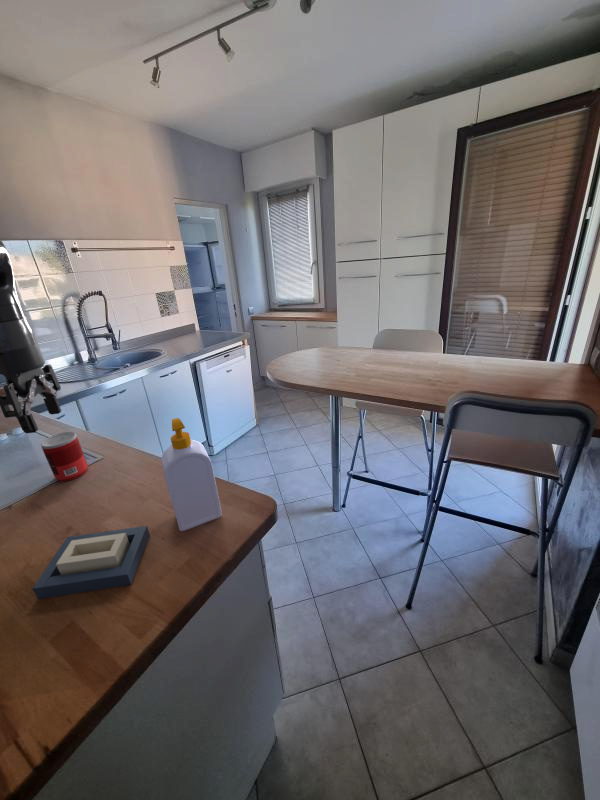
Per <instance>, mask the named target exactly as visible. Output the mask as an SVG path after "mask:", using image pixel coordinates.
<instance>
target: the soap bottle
mask: <svg viewBox="0 0 600 800" xmlns="http://www.w3.org/2000/svg"><path fill="white" fill-rule="evenodd" d="M183 429H186V427H185V425H184V423H183V421H182V420H181V418H179V417H176V418H172V419H171V430H172V432H175V433H174V434H172V436H171V437H170V442H171V444H170V445H169V446H168V447H166V448H165V450H163V451H164V452H163V453H162V455H161V466H162V471H163V475H164V480H165V484H166V487H167V490H168V493H169V497H170V501H171V504H172V508H173V512H174V516H175V519H176V524H177V527H178V530H179V531H180V532H184V531H187V530H190V529H193V528H195V527H198V526H200V525H201V526H202V525H203V524H205V523H208V522H212V521H214V520H217V519H219V518H221V517H222V515H223V511H222V507H221V502H220V498H219V492H218V487H217V482H216V478H215V473H214V467H213V463H212V460H211V458H210V456H209V454H208V452H207V450H206V447H205V446H204V445H203V443H201V442H200V441H198V440H195V439H191V435H190V433H189V432H187V431H183Z"/></svg>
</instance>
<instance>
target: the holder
mask: <svg viewBox="0 0 600 800" xmlns="http://www.w3.org/2000/svg"><path fill="white" fill-rule="evenodd" d="M121 533H126V535H127V538H128V541H129V544H130V547H129V549H128V552H127V554H126V556H125V559H124V561H123V563H122V565H121V566H120V567H114V568H107V569H100V570H94V571H87V572H80V573H74V574H67V575H61V574H60V572H59V570H58V568H57V566H56V564H57V562H58V560H59V559H60V558H61V556H62V554H63V553H64V551H65V550H66V548H67V547H68V545H69V544H70V542H71V541H72V540H79V539H86V538H93V537H100V536H107V535H114V534H121ZM150 537H151V534H150V530H149V528H148V525H142V526H135V527H128V528H121V529H115V530H107V531H106V530H105V531H98V532H92V533H86V534H85V533H84V534H79V535H72V536H67V537H65V540H64V541H63V542H62V544H61V546H60V547H59V548H58V550H57V551H56V553H55V554H54V556H53V557H52V559H51V560H50V561H49V563H48V564H47V566H46V568H45V569H44V571H43V572H42V574H41V575H40V576H39V578H38V579H37V581H36V582H35V584H34V586H33V587H32V591H33V593H34V594H35V597H36V598H37V599H38V600H40V599H41V600H43V599H48V598H55V597H61V596H67V595H73V594H81V593H86V592H87V593H88V592H93V591H100V590H106V589H112V588H118V587H119V588H120V587H125V586H131V585H132V584H133V581H134V579H135V576H136V573H137V571H138V568H139V565H140V563H141V560H142V557H143V555H144V552H145V550H146V547H147V545H148V542H149V539H150Z"/></svg>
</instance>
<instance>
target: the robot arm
mask: <svg viewBox="0 0 600 800" xmlns="http://www.w3.org/2000/svg"><path fill="white" fill-rule="evenodd" d="M45 363H46V361H45V359H44V355H43V354H42V351H41V348H40V346H39V343H38V340H37V338H36V336H35V333H34V330H33V328H32V326H31V324H30V322H29V321H28V319H27V317H26V314H25V312H24V308H23V306H22V304H21V301H20V299H19V296H18V293H17V290H16V280H15V274H14V269H13V263H12V260H11V256H10V254H9V251H8V249H7V247H6V245H5V244H4V242H3V240H1V239H0V375H2V376H4V378H5V384H2V385H0V409H1V411H2V414H3V416H4V418H6V419H7V418H16V419H17V422H18V424H19V425H20V428H21V431H22V432H23V433H24V434H35V433H37V432H38V431H39V428H38V425H37V422H36V421H35V418H34V416H33V414H32V413H31V406H32V404H33V403H34V401H35V397H37V396H38V395H39V396H41V397H42V398H43V402H44V404H45V407H46V409H47V412H48V414H49V415H59V414H60V413H62V409H61V406H60V405H61V404H60V402H59V400H58V398H57V396H58V391H61V390H62V387H61V385H60V383H59V380H58V377H57V374H56V373H55V370H54V368H53V366H52V364H45ZM50 382H52V384H51V383H50ZM21 405H23V407H22V406H21ZM10 406H11V408H10Z"/></svg>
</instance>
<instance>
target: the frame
mask: <svg viewBox="0 0 600 800" xmlns="http://www.w3.org/2000/svg"><path fill="white" fill-rule="evenodd" d="M129 547H130V544H129V541H128V538H127V535H126V533H121V534H114V535H107V536H100V537H93V538H86V539H79V540H72V541H71V542H70V544H69V545H68V547H67V548H66V550H65V551H64V553H63V554H62V556H61V558H60V559H59V560H58V562H57V564H56V566H57V568H58V570H59V572H60V574H61V575H67V574H74V573H80V572H87V571H94V570H100V569H107V568H114V567H120V566H121V565H122V563H123V561H124V559H125V556H126V554H127V552H128V549H129Z"/></svg>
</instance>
